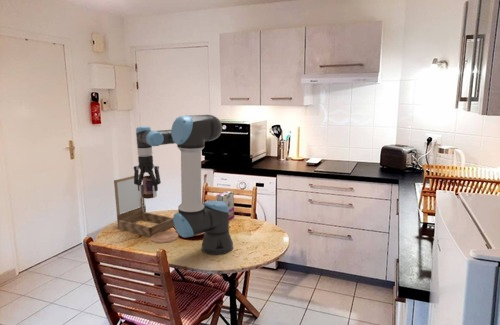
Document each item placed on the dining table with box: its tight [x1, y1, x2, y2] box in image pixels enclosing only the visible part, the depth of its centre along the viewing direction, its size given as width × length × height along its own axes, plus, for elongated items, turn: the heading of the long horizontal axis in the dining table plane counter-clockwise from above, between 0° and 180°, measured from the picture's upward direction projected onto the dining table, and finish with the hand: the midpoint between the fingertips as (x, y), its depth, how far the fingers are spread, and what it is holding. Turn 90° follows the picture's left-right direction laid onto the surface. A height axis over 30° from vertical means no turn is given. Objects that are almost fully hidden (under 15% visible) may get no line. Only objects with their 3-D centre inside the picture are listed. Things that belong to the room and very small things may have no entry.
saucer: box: [150, 230, 179, 244], centre depth 184 cm, size 14×14×1 cm
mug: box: [142, 175, 154, 200], centre depth 192 cm, size 10×7×12 cm
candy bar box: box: [216, 190, 235, 221], centre depth 210 cm, size 11×5×16 cm, turn 147°
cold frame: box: [116, 197, 174, 238], centre depth 198 cm, size 26×18×19 cm
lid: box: [113, 173, 143, 216], centre depth 203 cm, size 1×18×20 cm, turn 149°
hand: (148, 196), depth 193 cm, fingers closed on mug, 7 cm apart
